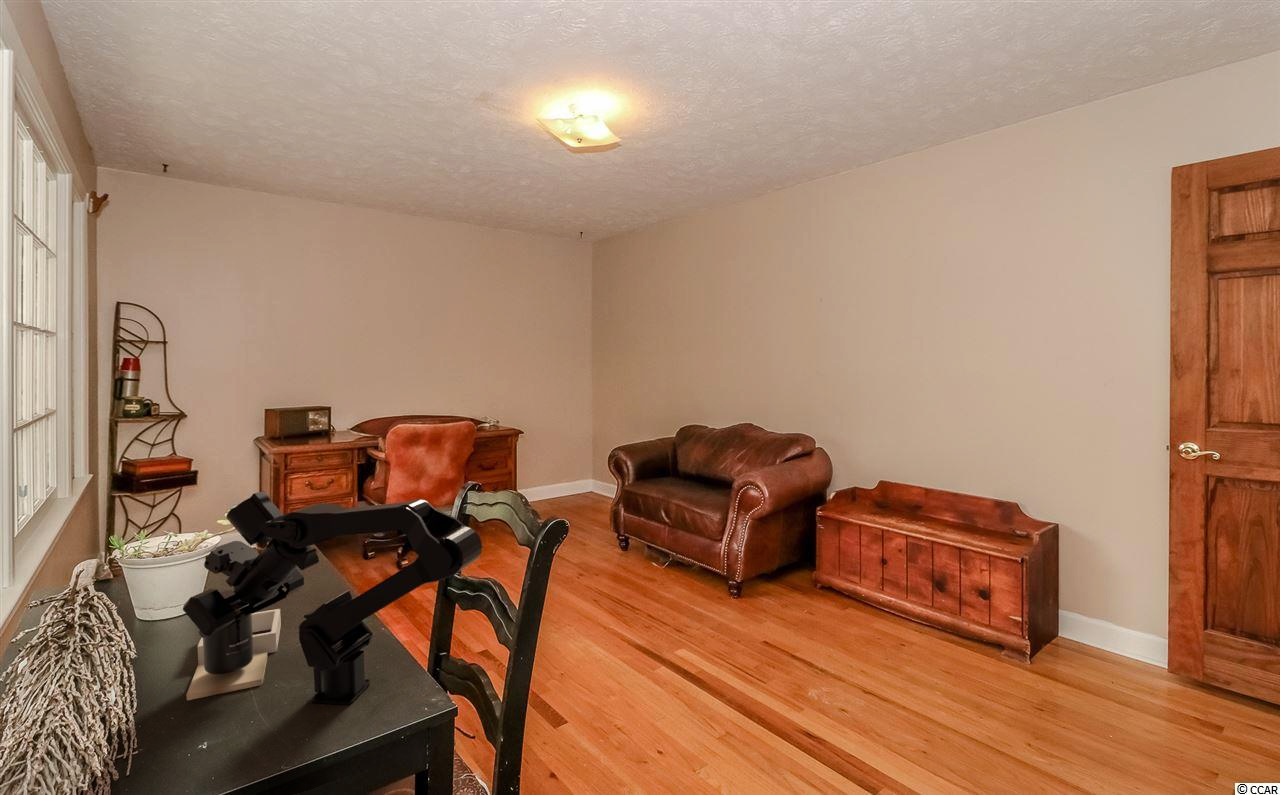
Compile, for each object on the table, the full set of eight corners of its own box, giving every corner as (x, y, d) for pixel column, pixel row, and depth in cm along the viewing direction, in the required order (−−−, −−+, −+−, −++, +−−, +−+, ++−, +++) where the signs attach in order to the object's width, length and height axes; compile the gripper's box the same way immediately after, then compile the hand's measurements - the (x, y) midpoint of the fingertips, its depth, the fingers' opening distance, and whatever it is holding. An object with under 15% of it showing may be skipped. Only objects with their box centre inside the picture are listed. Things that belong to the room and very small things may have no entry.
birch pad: (267, 657, 109) (267, 652, 109) (262, 684, 100) (261, 679, 100) (198, 670, 104) (198, 664, 104) (186, 700, 96) (186, 694, 96)
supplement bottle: (241, 674, 99) (237, 601, 98) (195, 677, 98) (190, 604, 97) (261, 653, 106) (258, 585, 105) (218, 656, 105) (214, 587, 104)
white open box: (280, 625, 121) (280, 608, 121) (276, 651, 111) (275, 632, 111) (209, 638, 116) (208, 620, 116) (198, 666, 106) (197, 646, 106)
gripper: (286, 513, 109) (237, 570, 112) (189, 546, 90) (133, 612, 94) (327, 559, 108) (276, 615, 111) (237, 602, 89) (179, 668, 92)
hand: (220, 625), depth 102 cm, fingers closed on supplement bottle, 7 cm apart
